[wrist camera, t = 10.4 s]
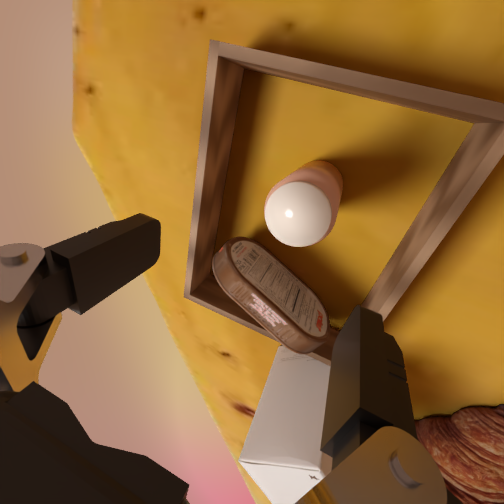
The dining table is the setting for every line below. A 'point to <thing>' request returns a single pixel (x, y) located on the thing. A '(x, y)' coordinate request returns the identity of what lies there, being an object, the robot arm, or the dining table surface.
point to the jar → (304, 204)
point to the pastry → (468, 452)
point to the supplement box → (289, 429)
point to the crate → (357, 83)
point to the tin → (271, 294)
